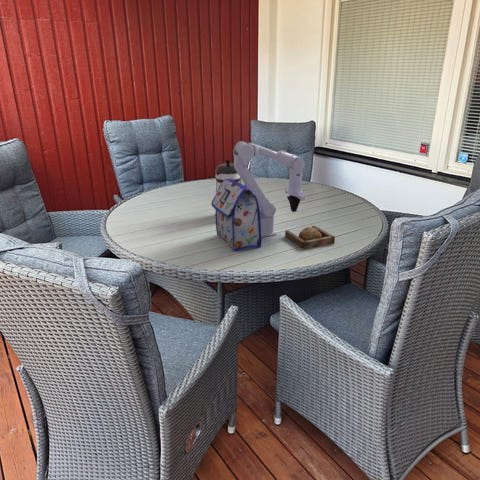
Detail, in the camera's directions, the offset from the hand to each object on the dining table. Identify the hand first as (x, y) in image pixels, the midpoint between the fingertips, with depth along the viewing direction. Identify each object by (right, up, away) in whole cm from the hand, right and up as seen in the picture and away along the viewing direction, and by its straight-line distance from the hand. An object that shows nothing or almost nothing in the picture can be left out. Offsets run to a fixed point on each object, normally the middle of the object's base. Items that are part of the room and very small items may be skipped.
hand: (293, 211), depth 186 cm
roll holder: (+6, -13, -8) cm, 16 cm away
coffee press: (-30, -1, +24) cm, 38 cm away
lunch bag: (-27, -14, -8) cm, 31 cm away
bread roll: (+6, -14, -8) cm, 17 cm away
